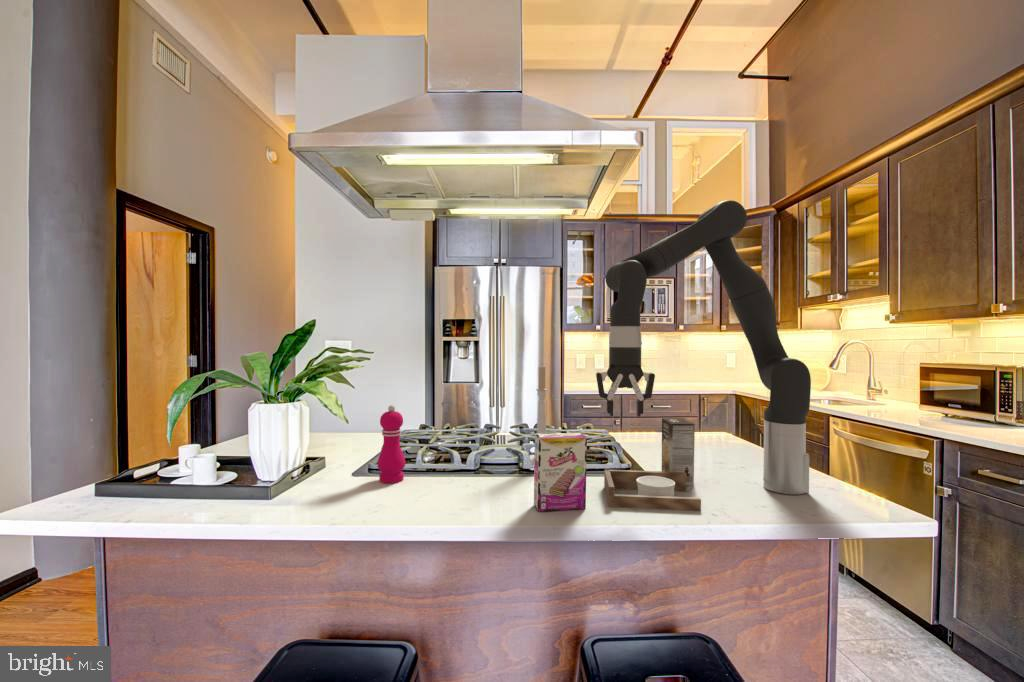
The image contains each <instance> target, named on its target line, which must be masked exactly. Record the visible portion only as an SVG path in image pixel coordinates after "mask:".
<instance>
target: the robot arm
mask: <svg viewBox="0 0 1024 682" xmlns="http://www.w3.org/2000/svg"><path fill="white" fill-rule="evenodd" d="M747 221H748V215H747V211H746V209H745V208H744V206H743V205H742V204H741V203H739V202H738V201H736V200H732V199H726V200H722V201H720V202H718V203H716V204H715V205H713V206H712V207H710V208H707V210H704V212H702V213H701V214H700V215H699V216H698V218H697V220H696V222H694V223H692V224H691V225H689V226H687V227H685V228H683V229H680V230H679V231H677V232H674V233H673V234H671V235H669V236H666V237H665V238H663V239H661V240H659V241H657V242H655V243H653V244H652V245H649V246H648V247H646V248H645V249H643V250H642V251H640V252H639V253H637V254H634V255H631V256H629V257H627V258H626V259H623V260H621V261H619V262H616V263H615V264H613V265H612V266H611V267H610V268H608V270H607V271H606V274H605V283H606V286H607V287H608V289H610V290H611V291H613V292H615V293H618V294H617V299H616V301H615V302H614V303H612V304H611V306H610V315H609V316H610V319H609V323H610V324H609V325H610V327H609V328H610V329H609V335H608V336H609V337H608V369H607V370H606V371H602V372H599V371H597V372H596V374H595V377H596V384H597V389H598V391H597V392H598V395H599V397H600V398H602V399H605V400H606V412H607V414H609V416H610V417H613V416H614V400H613V398H614V396H615V393H616V392H617V390H618V389H623V388H624V389H625V388H626V389H632V390H633V391H634V394H635V397H636V400H635V401H636V402H635V404H636V405H635V406H636V409H635V410H636V412H635V413H636V414H635V415H636V417H638V418H639V417H641V415H643V414H644V401H645V400H647V399H651V398H652V395H653V390H654V384H655V379H656V375H655V373H653V372H644V371H643V369H642V344H643V341H642V331H641V308H642V304H643V301H644V297H645V292H646V287H647V280H648V278H651V277H655V276H658V275H660V274H662V273H664V272H665V271H667V270H669V269H671V268H672V267H674V266H676V265H677V264H679V263H681V262H682V261H684V260H685V259H687V258H688V257H689V256H691V255H693V254H694V253H696V252H698V251H699V250H701V249H703V248H705V250H706V252H707V253H708V256H709V257H710V259H711V261H712V263H713V265H714V267H715V269H716V271H717V274H718V275H719V278H720V280H721V282H722V284H723V286H724V289H725V291H726V294H727V296H728V297H727V298H728V299H729V302H730V304H731V307H732V309H733V311H734V314H735V316H736V318H737V320H738V321H739V324H740V327H741V330H742V332H743V333H744V335H745V337H746V340H747V342H748V343H749V346H750V348H751V351H752V355H753V358H754V362H755V365H756V368H757V372H758V376H759V378H760V381H761V382H762V384H763V385H764V387H765V388H766V389H768V390H769V391H770V392H769V403H768V405H767V407H766V408H765V409H764V412H763V477H762V480H763V487H764V489H766V490H768V491H770V492H773V493H778V494H784V495H794V496H795V495H802V494H809V493H810V454H808V453H807V452H806V451H807V450H806V449H807V448H806V447H807V446H806V445H807V444H806V442H807V441H806V440H807V439H806V437H807V433H806V431H807V429H806V427H807V426H806V425H807V415H808V414H809V412H810V405H811V388H812V377H811V372H810V370H809V367H808V366H807V365H806V364H805V363H804V362H803V361H801V360H799V359H797V358H794V357H793V358H792V357H789V356H788V354H787V352H786V350H785V348H784V346H783V343H782V342H781V339H780V336H779V333H778V324H777V323H778V322H777V311H776V305H775V302H774V299H773V297H772V295H771V292H770V289H769V287H768V285H767V282H766V280H764V278H763V277H762V276H761V275H760V273H758V272H757V271H756V270H755V269H753V268H752V267H751V266H750V265H749V264H747V263H746V262H745V261H744V260H743V259H742V257H740V255H739V254H738V252H737V250H736V247H735V245H734V243H733V240H732V238H733V237H735V236H736V235H739V234H740V233H741V231H743V230H744V228H745V226H746V225H747ZM606 377H608V378H609V379H610V381H611V382H612V383H611V385H610V387H609V390H608V392H605V389H604V388H605V387H604V383H603V382H604V381H606ZM642 378H643V379H644V381H645V382H646V383H645V391H644V393H642V391H641V388H640V386H639V382H640V380H641V379H642Z"/></svg>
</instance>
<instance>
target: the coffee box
mask: <svg viewBox="0 0 1024 682" xmlns="http://www.w3.org/2000/svg"><path fill="white" fill-rule="evenodd" d="M695 427H696V426H695V423H693V422H692V421H690V420H688V419H687V418H685V417H662V418H661V471H664V472H686V474H687V476H686V486H689V485H690V486H695V432H696V431H695Z"/></svg>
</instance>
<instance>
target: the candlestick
mask: <svg viewBox="0 0 1024 682" xmlns="http://www.w3.org/2000/svg"><path fill="white" fill-rule="evenodd" d="M536 391H537V396H538V398H539V399H538V403H537V404H538V405H537V409H538V410H537V424H536V427H537V428H536V434H548V433H547V432H548V431H547V412H546V411H547V409H546V401H545V398H546V396H547V391H548V388H546V366H538V388H536ZM529 457H530V460H531V464H532V465H534V460H535V459H534V458H535V455H534V456H529ZM521 466H522V463H521V462H520V464H519V467H520V468H521Z"/></svg>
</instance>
